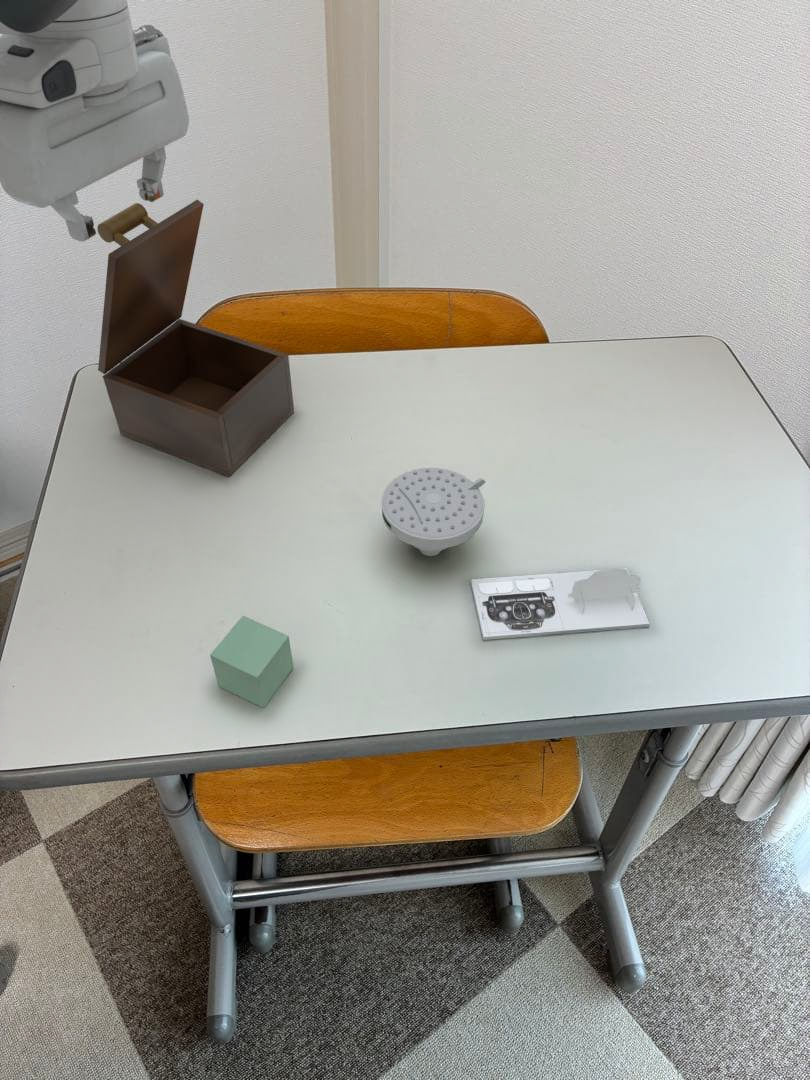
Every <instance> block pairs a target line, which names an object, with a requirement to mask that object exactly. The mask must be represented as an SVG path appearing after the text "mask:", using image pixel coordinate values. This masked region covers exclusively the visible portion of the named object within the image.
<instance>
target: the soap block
mask: <svg viewBox="0 0 810 1080" xmlns="http://www.w3.org/2000/svg"><path fill="white" fill-rule="evenodd" d="M209 657H210V660H211V664H212V668H213V670H214V674H215V678H216V681H217V682H216V683H217V686H218V687H219V688H221V689H222V690H223V689H224V690H226V691H228V692H230V693H232V694H234V695H235V696H238V697H240V698H242V699H244V700H246V701H248V702H250V703H252V704H254V705H256V706H258V707H260V708H262V709H264V708H265V707H266V706H267V705H268V703H269V701H270V700H271V699H272V698H273V696H274V695H275V693H276V692H277V691H278V690H279V688H280V687H281V685H282V684H283V683H284V681H285V680H286V678H287V677H288V676H289V674H290V673H291V672H292V670H293V669H294V662H293V655H292V649H291V642H290V637H289V635H287V634H285V633H283V632H280V631H279V630H276V629H274V628H272V627H269V626H267V625H265V624H264V623H261V622H258V621H257V620H254V619H251V618H250V617H247V616H245V615H242V616H241V617H240V618H239V620H238V621H237V622H236V623H235V624H234V625H233V627H232V628H230V630H229V632H228V633H227V634H226V635H225V636H224V637H223V639H222V640H221V641H220V642H219V643H218V645H217V646H216V647H215V649H213V650H212V652H211V653H210V654H209Z"/></svg>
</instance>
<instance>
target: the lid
mask: <svg viewBox="0 0 810 1080" xmlns="http://www.w3.org/2000/svg"><path fill="white" fill-rule="evenodd" d="M204 205H205V204H204V203H203V202H202V201H200V200H199V199H195V200H194V201H193V202H191V203H189V204H187V205H185V206H184V207H183V208H181V209H179V210H178V211H175V212H174V213H173V214H171V215H170V216H168V217H166V218H165V219H163V220H162V221H159V222H157V221H156V220H154V219H153V218H151V217H150V216H149V213H148V211H147V209H146V207H144V205H143V204H141V203H139V202H135V203H133V204H131V205H129V206H128V207H126V208H125V209H123V210H121V211H119V212H118V213H116V214H114V215H112V216H111V217H109V218H107V219H106V220H104V221H102V222H100V223H98V224H97V227H96V229H97V230H96V231H97V233H98V235H99V237H100V239H102V241H104V242H106V243H108V244H110V243H113V242H114V243H116V244H117V245H119V247H117V248H116V249H114V250H113V251H111V252H110V253H108V255H107V267H106V277H105V278H106V279H105V289H104V298H103V300H104V302H103V312H102V322H101V335H100V344H99V353H98V354H99V356H98V366H97V367H98V368H97V371H98V372H100V373H101V374H102V375H105V374H106V373H108V372H109V371H111V370H112V369H113V368H115V367H116V366H117V365H119V364H120V363H121V362H123V361H124V360H125V359H127V358H128V357H129V356H131V355H132V354H133V353H135V352H136V351H137V350H139V349H140V348H141V347H143V346H144V345H145V344H147V343H148V342H149V341H151V340H152V339H153V338H155V337H156V336H157V335H159V334H160V333H161V332H163V331H164V330H165V329H167V328H168V327H169V326H171V325H172V324H173V323H175V322H176V321H177V320H178V319H181V318H182V316H183V311H184V307H185V306H184V305H185V300H186V296H187V291H188V286H189V281H190V275H191V271H192V265H193V259H194V254H195V250H196V247H197V246H196V245H197V241H198V240H197V239H198V234H199V231H200V230H199V229H200V226H201V219H202V214H203V210H204ZM141 225H143V226H144V227H146V228H147V229H146V230H145V231H143V232H142V233H140V234H139V235H137V236H135V237H134V238H132V239H129V238H128V237H126V236H125V235H126V234H128V233H130V232H131V231H133V230H135V229H136V228H137V227H140V226H141Z"/></svg>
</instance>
